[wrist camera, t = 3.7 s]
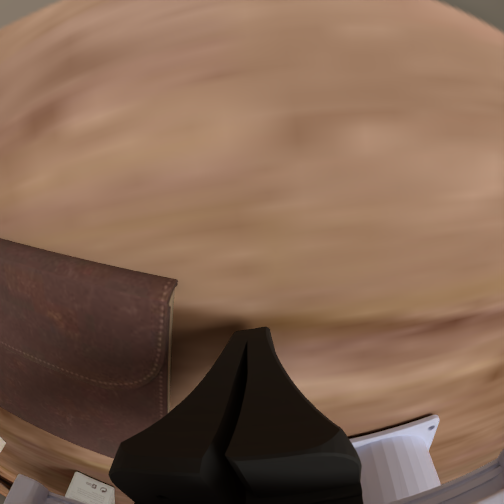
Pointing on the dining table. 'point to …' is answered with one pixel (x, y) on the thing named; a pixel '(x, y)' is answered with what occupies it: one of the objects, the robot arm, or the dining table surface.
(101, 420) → the notebook
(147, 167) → the dining table surface
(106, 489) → the skincare box
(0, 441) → the bar
